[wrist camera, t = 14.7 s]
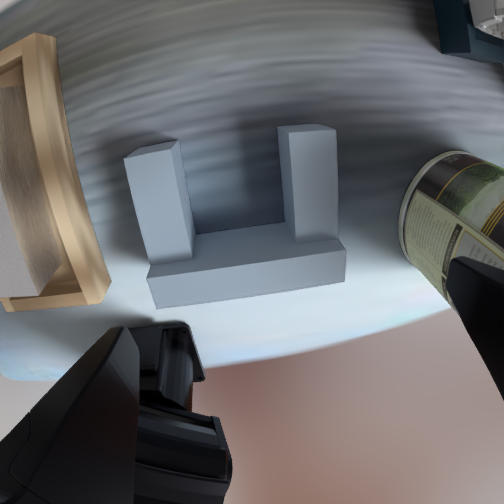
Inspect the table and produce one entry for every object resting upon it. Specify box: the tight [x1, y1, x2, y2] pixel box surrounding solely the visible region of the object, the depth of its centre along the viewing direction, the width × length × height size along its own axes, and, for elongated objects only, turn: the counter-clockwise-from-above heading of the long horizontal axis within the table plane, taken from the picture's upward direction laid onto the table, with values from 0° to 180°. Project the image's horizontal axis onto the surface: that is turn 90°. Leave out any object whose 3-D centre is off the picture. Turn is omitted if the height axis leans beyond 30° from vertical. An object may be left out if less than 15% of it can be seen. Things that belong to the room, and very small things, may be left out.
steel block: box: [0, 86, 63, 298], centre depth 14 cm, size 12×4×4 cm, turn 3°
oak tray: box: [0, 32, 111, 312], centre depth 15 cm, size 17×9×3 cm, turn 6°
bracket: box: [124, 124, 346, 309], centre depth 17 cm, size 8×10×4 cm
